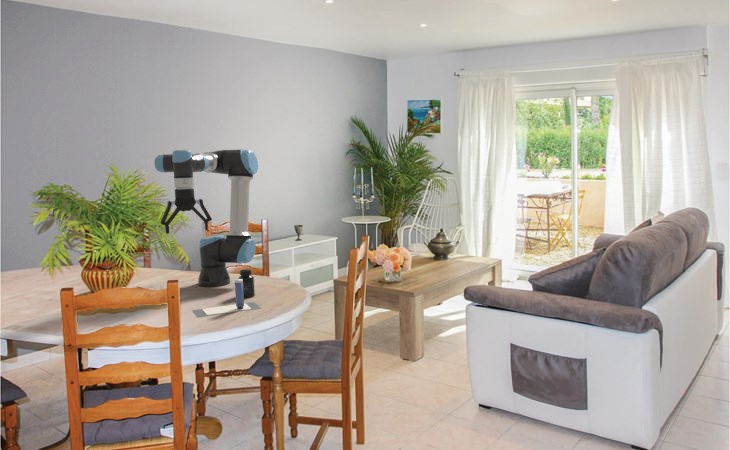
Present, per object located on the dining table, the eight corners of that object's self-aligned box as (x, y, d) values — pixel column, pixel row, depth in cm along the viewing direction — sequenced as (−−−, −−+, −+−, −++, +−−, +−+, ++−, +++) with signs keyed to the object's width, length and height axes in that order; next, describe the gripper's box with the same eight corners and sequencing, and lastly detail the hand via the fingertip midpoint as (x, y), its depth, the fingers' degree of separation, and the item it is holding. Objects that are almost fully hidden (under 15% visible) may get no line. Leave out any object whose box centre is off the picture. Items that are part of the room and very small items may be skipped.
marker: (234, 308, 259) (233, 279, 257) (242, 307, 261) (240, 278, 259) (238, 310, 256) (236, 281, 254) (245, 308, 258) (244, 280, 256)
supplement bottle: (257, 295, 281) (256, 269, 280) (250, 299, 275) (248, 272, 273) (244, 294, 284) (242, 268, 282) (236, 298, 277) (234, 271, 276)
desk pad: (191, 311, 259) (191, 310, 258) (253, 302, 270) (253, 301, 269) (197, 318, 248) (197, 317, 248) (261, 309, 259) (261, 308, 259)
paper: (202, 309, 259) (202, 309, 259) (245, 303, 267) (245, 303, 267) (207, 315, 250) (207, 314, 250) (251, 309, 258) (251, 308, 258)
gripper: (153, 190, 248) (157, 244, 251) (217, 187, 258) (220, 238, 261) (150, 189, 254) (154, 241, 257) (213, 185, 265) (216, 235, 268)
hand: (187, 239), depth 259 cm, fingers open, 13 cm apart
